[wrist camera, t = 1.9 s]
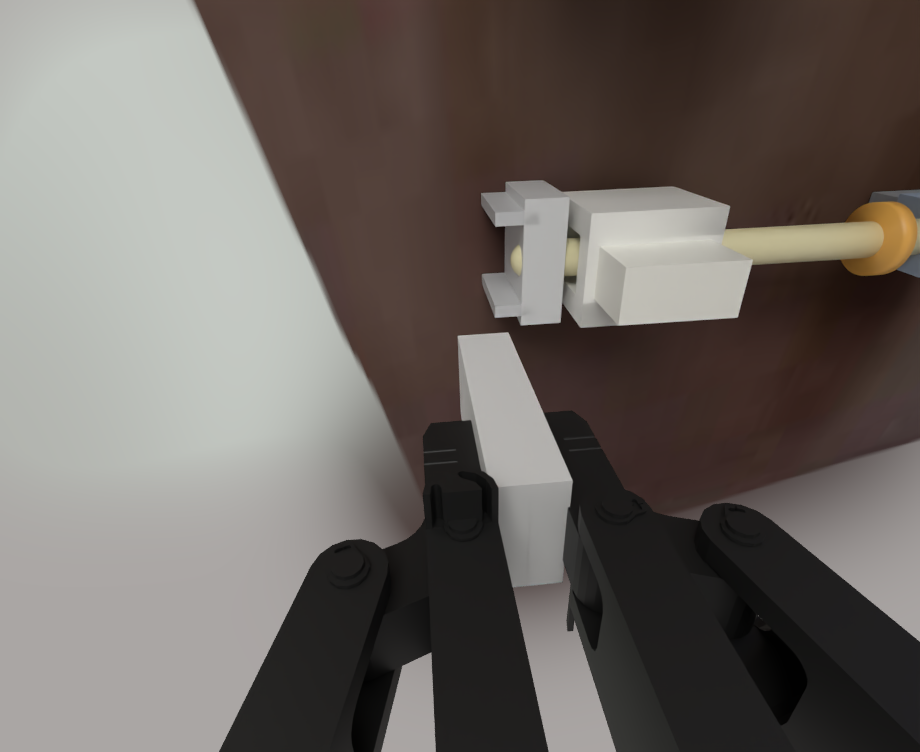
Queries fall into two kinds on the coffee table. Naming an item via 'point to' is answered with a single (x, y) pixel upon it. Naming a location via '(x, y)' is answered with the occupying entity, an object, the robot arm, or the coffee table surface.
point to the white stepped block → (651, 258)
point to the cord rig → (854, 243)
